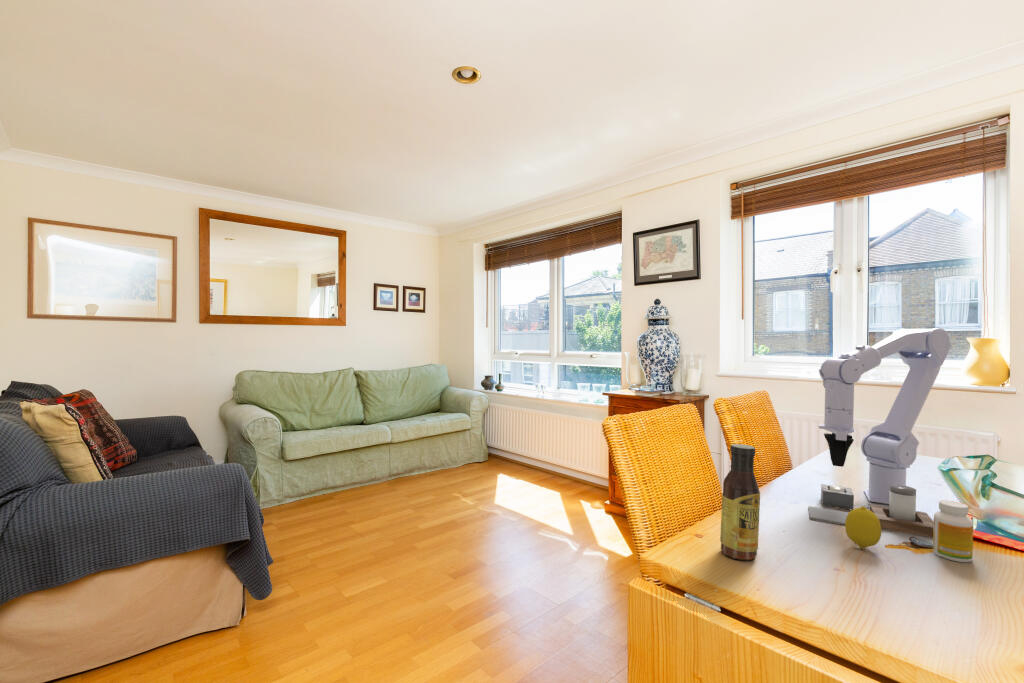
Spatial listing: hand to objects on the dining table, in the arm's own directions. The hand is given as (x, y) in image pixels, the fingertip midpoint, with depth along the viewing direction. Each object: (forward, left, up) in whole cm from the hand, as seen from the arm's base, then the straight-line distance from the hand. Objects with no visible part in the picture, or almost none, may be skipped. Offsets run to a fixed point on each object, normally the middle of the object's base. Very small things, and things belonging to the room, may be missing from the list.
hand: (837, 465), depth 115 cm
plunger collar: (0, 0, -9) cm, 9 cm away
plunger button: (0, 0, -8) cm, 8 cm away
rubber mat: (+11, -2, -9) cm, 15 cm away
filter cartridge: (+8, +11, -9) cm, 17 cm away
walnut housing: (+8, +11, -9) cm, 17 cm away
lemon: (+27, +2, -10) cm, 29 cm away
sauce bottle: (+42, -18, -10) cm, 47 cm away
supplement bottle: (+22, +16, -10) cm, 29 cm away
